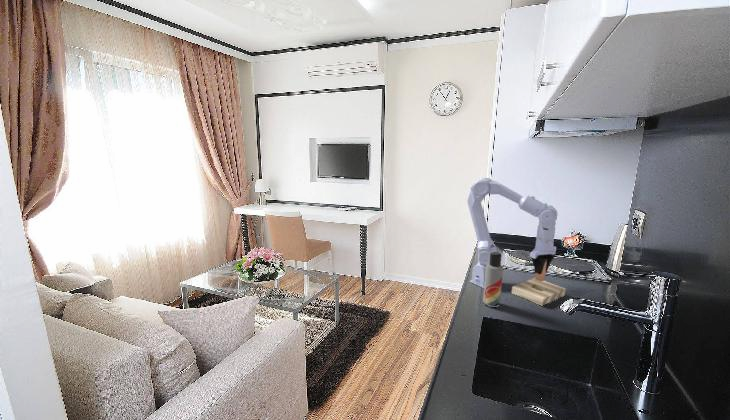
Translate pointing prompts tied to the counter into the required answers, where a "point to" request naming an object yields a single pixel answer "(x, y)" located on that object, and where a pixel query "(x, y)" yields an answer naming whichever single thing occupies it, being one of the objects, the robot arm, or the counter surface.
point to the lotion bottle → (493, 280)
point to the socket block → (538, 291)
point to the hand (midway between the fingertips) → (540, 272)
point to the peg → (541, 276)
